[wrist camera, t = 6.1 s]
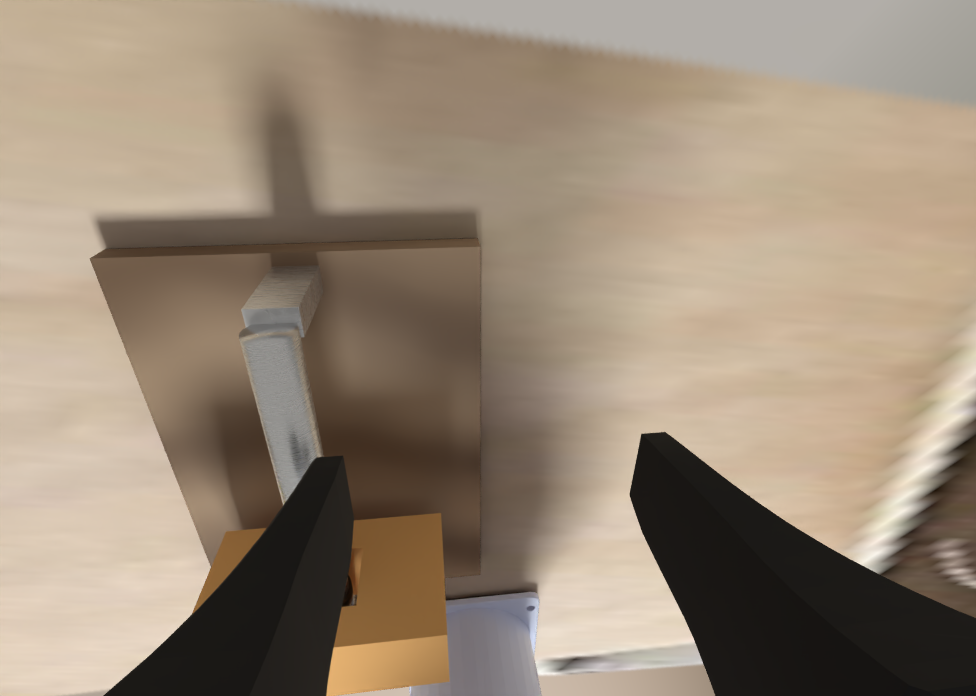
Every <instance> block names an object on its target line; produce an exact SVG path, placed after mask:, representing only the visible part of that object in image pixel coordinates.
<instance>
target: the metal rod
mask: <svg viewBox="0 0 976 696" xmlns="http://www.w3.org/2000/svg"><path fill="white" fill-rule="evenodd" d="M322 294H323V287H322V281H321V274H320V268H319V265H317V266H287V267H271V269H270V270H269V271H268V273H267V274H266V276H265V277H264V278H263V280H262V281H261V283H260V284H259V285H258V287H257V288H256V290H255V291H254V292H253V294H252V295H251V296H250V298H249V299H248V301H247V302H246V303H245V305H244V306H243V308H242V309H241V310H242V314H243V318H244V322H245V326H246V328H244V329H243V330H242V331H241V332H240V334H239V340H240V344H241V348H242V351H243V355H244V359H245V363H246V367H247V370H248V374H249V378H250V382H251V385H252V389H253V393H254V397H255V401H256V404H257V408H258V412H259V416H260V420H261V423H262V427H263V431H264V435H265V438H266V442H267V446H268V450H269V454H270V457H271V461H272V465H273V469H274V473H275V476H276V480H277V484H278V488H279V491H280V495H281V499H282V503H283V505H284V504H285V502H286V501H287V499H288V498H289V496H290V495H291V493H292V492H293V491H294V489H295V488H296V486H297V485H298V483H299V481H300V480H301V478H302V477H303V475H304V474H305V472H306V471H307V469H308V467H309V466H310V464H311V463H312V461H313V460H314V459H315V458H316V457H324V454H323V449H322V444H321V438H320V433H319V428H318V423H317V418H316V413H315V408H314V403H313V398H312V393H311V388H310V382H309V377H308V372H307V367H306V362H305V357H304V352H303V347H302V342H301V337H305V335H306V332H307V330H308V328H309V325H310V323H311V320H312V318H313V315H314V313H315V311H316V308H317V306H318V303H319V301H320V299H321V296H322ZM356 603H357V595H354V593H353V588H352V583H351V579H350V577H349V575H348V578H347V583H346V588H345V593H344V598H343V603H342V607H346V606H356Z"/></svg>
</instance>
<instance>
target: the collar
mask: <svg viewBox="0 0 976 696" xmlns="http://www.w3.org/2000/svg"><path fill="white" fill-rule="evenodd" d="M265 530H266V528H260V529H249V530H237V531H226V533H225V535H224V538H223V540H222V542H221V545H220V547H219V550H218V552H217V555H216V557H215V559H214V562H213V564H212V567H211V569H210V572H209V574H208V576H207V579H206V581H205V584H204V586H203V589H202V591H201V593H200V596H199V598H198V601H197V603H196V606H195V608H194V611H193V613H194V612H195V611H196V610H197V609H198V608H199V607H200V606H201V605H202V604H203V603H204V602H205V601H206V599H207V598H208V597H209V596H210V595H211V594H212V593H213V592H214V591H215V590H216V589H217V588H218V587H219V585H220V584H221V583H222V582H223V581H224V580H225V579H226V578H227V576H228V575H229V574H230V573H231V572H232V571H233V569H234V568H235V567H236V566H237V565H238V564H239V562H240V561H241V560H242V559H243V557H244V556H245V555H246V554H247V552H248V551H249V550H250V549H251V547H252V546H253V545H254V544H255V542H256V541H257V540H258V539H259V538H260V536H261V535H262V534H263V532H264V531H265ZM348 575H349V577H350V579H351V583H352V588H353V593H354V595H357V603H356V606H346V607H342V608H341V613H340V618H339V623H338V628H337V634H336V639H335V644H334V649H333V654H332V659H331V665H330V672H329V678H328V685H327V695H326V696H336V695H344V694H353V693H360V692H369V691H376V690H385V689H394V688H402V687H410V686H418V685H427V684H435V683H443V682H450V679H449V659H448V639H447V619H446V599H445V579H444V559H443V540H442V521H441V513H435V514H423V515H412V516H400V517H388V518H377V519H365V520H354V526H353V540H352V551H351V562H350V567H349V572H348ZM193 613H192V614H193Z"/></svg>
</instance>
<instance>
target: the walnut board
mask: <svg viewBox="0 0 976 696" xmlns="http://www.w3.org/2000/svg"><path fill="white" fill-rule="evenodd" d="M90 261H91V263H92V266H93V268H94V271H95V273H96V276H97V278H98V281H99V283H100V286H101V288H102V291H103V294H104V296H105V299H106V301H107V304H108V306H109V309H110V311H111V314H112V316H113V319H114V321H115V324H116V327H117V329H118V332H119V334H120V337H121V339H122V342H123V344H124V347H125V349H126V352H127V355H128V357H129V360H130V362H131V365H132V367H133V370H134V372H135V375H136V377H137V380H138V382H139V385H140V388H141V390H142V393H143V395H144V398H145V400H146V403H147V405H148V408H149V410H150V413H151V416H152V418H153V421H154V423H155V426H156V428H157V431H158V433H159V436H160V438H161V441H162V443H163V446H164V449H165V451H166V454H167V456H168V459H169V461H170V464H171V466H172V469H173V471H174V474H175V477H176V479H177V482H178V484H179V487H180V489H181V492H182V494H183V497H184V499H185V502H186V504H187V507H188V510H189V512H190V515H191V517H192V520H193V522H194V525H195V527H196V530H197V532H198V535H199V538H200V540H201V543H202V545H203V548H204V550H205V553H206V555H207V558H208V560H209V563H210V565H211V567H212V564H213V562H214V559H215V557H216V555H217V552H218V550H219V547H220V545H221V542H222V540H223V538H224V535H225V533H226V531H237V530H249V529H260V528H267V527H268V526H269V524H270V523H271V522H272V520H273V519H274V517H275V516H276V515H277V513H278V512H279V511H280V509H281V508H282V506H283V503H282V499H281V495H280V491H279V488H278V484H277V480H276V476H275V473H274V469H273V465H272V461H271V457H270V454H269V450H268V446H267V442H266V438H265V435H264V431H263V427H262V423H261V420H260V416H259V412H258V408H257V404H256V401H255V397H254V393H253V389H252V385H251V382H250V378H249V374H248V370H247V367H246V363H245V359H244V355H243V351H242V348H241V344H240V340H239V334H240V332H241V331H242V330H243V329H244V328H246V326H245V322H244V318H243V314H242V310H241V309H242V308H243V306H244V305H245V303H246V302H247V301H248V299H249V298H250V296H251V295H252V294H253V292H254V291H255V290H256V288H257V287H258V285H259V284H260V283H261V281H262V280H263V278H264V277H265V276H266V274H267V273H268V271H269V270H270V269H271V267H287V266H317V265H319V268H320V274H321V281H322V287H323V294H322V296H321V299H320V301H319V303H318V306H317V308H316V311H315V313H314V315H313V318H312V320H311V323H310V325H309V328H308V330H307V332H306V335H305V337H301V342H302V347H303V352H304V357H305V362H306V367H307V372H308V377H309V382H310V388H311V393H312V398H313V403H314V408H315V413H316V418H317V423H318V428H319V433H320V438H321V444H322V449H323V454H324V457H329V456H343V457H344V463H345V468H346V474H347V480H348V486H349V492H350V497H351V503H352V509H353V515H354V520H365V519H377V518H388V517H400V516H412V515H423V514H435V513H441V521H442V540H443V559H444V578H452V577H462V576H472V575H480V244H479V241H478V238H474V239H439V240H404V241H369V242H333V243H298V244H263V245H227V246H192V247H157V248H121V249H105V250H103V251H102V252H100V253H98V254H97V255H95V256H93V257H91V258H90Z"/></svg>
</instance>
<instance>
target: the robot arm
mask: <svg viewBox="0 0 976 696" xmlns="http://www.w3.org/2000/svg"><path fill="white" fill-rule="evenodd" d="M630 498H631V501H632V504H633V507H634V510H635V513H636V516H637V519H638V522H639V524H640V527H641V530H642V533H643V535H644V537H645V539H646V541H647V543H648V545H649V547H650V549H651V551H652V553H653V556H654V558H655V560H656V562H657V564H658V566H659V568H660V570H661V572H662V574H663V576H664V578H665V580H666V582H667V584H668V586H669V588H670V590H671V592H672V594H673V596H674V598H675V600H676V602H677V604H678V606H679V608H680V610H681V612H682V614H683V616H684V618H685V620H686V622H687V625H688V627H689V629H690V631H691V633H692V636H693V638H694V640H695V643H696V646H697V648H698V651H699V653H700V656H701V659H702V661H703V664H704V666H705V669H706V671H707V674H708V677H709V679H710V682H711V685H712V688H713V690H714V693H715V696H976V618H974V617H972V616H969V615H967V614H964V613H962V612H959V611H957V610H954V609H952V608H950V607H948V606H945V605H943V604H941V603H939V602H936V601H934V600H932V599H930V598H928V597H925V596H923V595H921V594H919V593H916V592H914V591H912V590H910V589H908V588H906V587H904V586H902V585H899V584H897V583H895V582H893V581H891V580H889V579H887V578H885V577H883V576H881V575H879V574H877V573H875V572H873V571H871V570H870V569H868V568H866V567H864V566H862V565H860V564H858V563H856V562H854V561H852V560H850V559H848V558H847V557H845V556H843V555H841V554H839V553H838V552H836V551H834V550H832V549H831V548H829V547H827V546H825V545H824V544H822V543H820V542H819V541H817V540H815V539H814V538H812V537H810V536H809V535H807V534H805V533H804V532H802V531H800V530H799V529H797V528H795V527H794V526H792V525H791V524H789V523H788V522H786V521H785V520H783V519H781V518H780V517H779V516H777V515H776V514H774V513H773V512H771V511H770V510H768V509H767V508H765V507H764V506H762V505H761V504H759V503H758V502H757V501H755V500H754V499H752V498H751V497H750V496H748V495H747V494H745V493H744V492H743V491H741V490H740V489H739V488H737V487H736V486H735V485H733V484H732V483H731V482H729V481H728V480H727V479H725V478H724V477H723V476H721V475H720V474H719V473H717V472H716V471H715V470H714V469H712V468H711V467H710V466H708V465H707V464H706V463H705V462H703V461H702V460H701V459H699V458H698V457H697V456H696V455H694V454H693V453H692V452H691V451H689V450H688V449H687V448H685V447H684V446H683V445H682V444H680V443H679V442H678V441H676V440H675V439H674V438H672V437H671V436H670V435H668V434H667V433H666V432H661V433H647V434H641V439H640V444H639V449H638V454H637V459H636V464H635V469H634V475H633V480H632V485H631V490H630ZM353 526H354V515H353V509H352V503H351V497H350V492H349V486H348V480H347V474H346V468H345V463H344V457H343V456H329V457H316V458H315V459H314V460H313V461H312V463H311V464H310V466H309V467H308V469H307V471H306V472H305V474H304V475H303V477H302V478H301V480H300V481H299V483H298V485H297V486H296V488H295V489H294V491H293V492H292V493H291V495H290V496H289V498H288V499H287V501H286V502H285V504H284V505H283V506H282V508H281V509H280V511H279V512H278V513H277V515H276V516H275V517H274V519H273V520H272V522H271V523H270V524H269V526H268V527H267V528H266V530H265V531H264V532H263V534H262V535H261V536H260V538H259V539H258V540H257V541H256V542H255V544H254V545H253V546H252V547H251V549H250V550H249V551H248V552H247V554H246V555H245V556H244V557H243V559H242V560H241V561H240V562H239V564H238V565H237V566H236V567H235V568H234V569H233V571H232V572H231V573H230V574H229V575H228V576H227V578H226V579H225V580H224V581H223V582H222V583H221V584H220V585H219V587H218V588H217V589H216V590H215V591H214V592H213V593H212V594H211V595H210V596H209V597H208V598H207V599H206V601H205V602H204V603H203V604H202V605H201V606H200V607H199V608H198V609H197V610H196V611H195V612H194V613H193V614H192V615H191V616H190V617H189V618H188V619H187V620H186V621H185V622H184V623H183V624H182V625H181V626H180V627H179V628H178V629H177V630H176V631H175V632H174V633H173V634H172V635H171V636H170V637H169V638H168V639H167V640H166V641H165V642H163V643H162V644H161V645H160V646H159V647H158V648H157V649H156V650H155V651H154V652H153V653H152V654H151V655H150V656H148V657H147V658H146V659H145V660H144V661H143V662H142V663H140V664H139V665H138V666H137V667H136V668H135V669H134V670H132V671H131V672H130V673H129V674H128V675H127V676H125V677H124V678H123V679H122V680H121V681H120V682H119V683H117V684H116V685H115V686H114V687H113V688H112V689H111V690H109V691H108V692H107V693H106V694H105V695H104V696H326V695H327V685H328V678H329V672H330V665H331V659H332V654H333V649H334V644H335V639H336V634H337V628H338V623H339V618H340V613H341V608H342V603H343V598H344V593H345V588H346V583H347V578H348V572H349V567H350V562H351V551H352V540H353ZM538 611H539V597H538V594H537V593H535V592H523V593H514V594H504V595H495V596H485V597H476V598H466V599H456V600H447V601H446V619H447V639H448V659H449V679H450V682H443V683H435V684H427V685H418V686H410V687H409V690H410V696H542V695H541V690H540V684H539V679H538V674H537V669H536V664H535V659H534V655H535V644H536V633H537V622H538Z"/></svg>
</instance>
